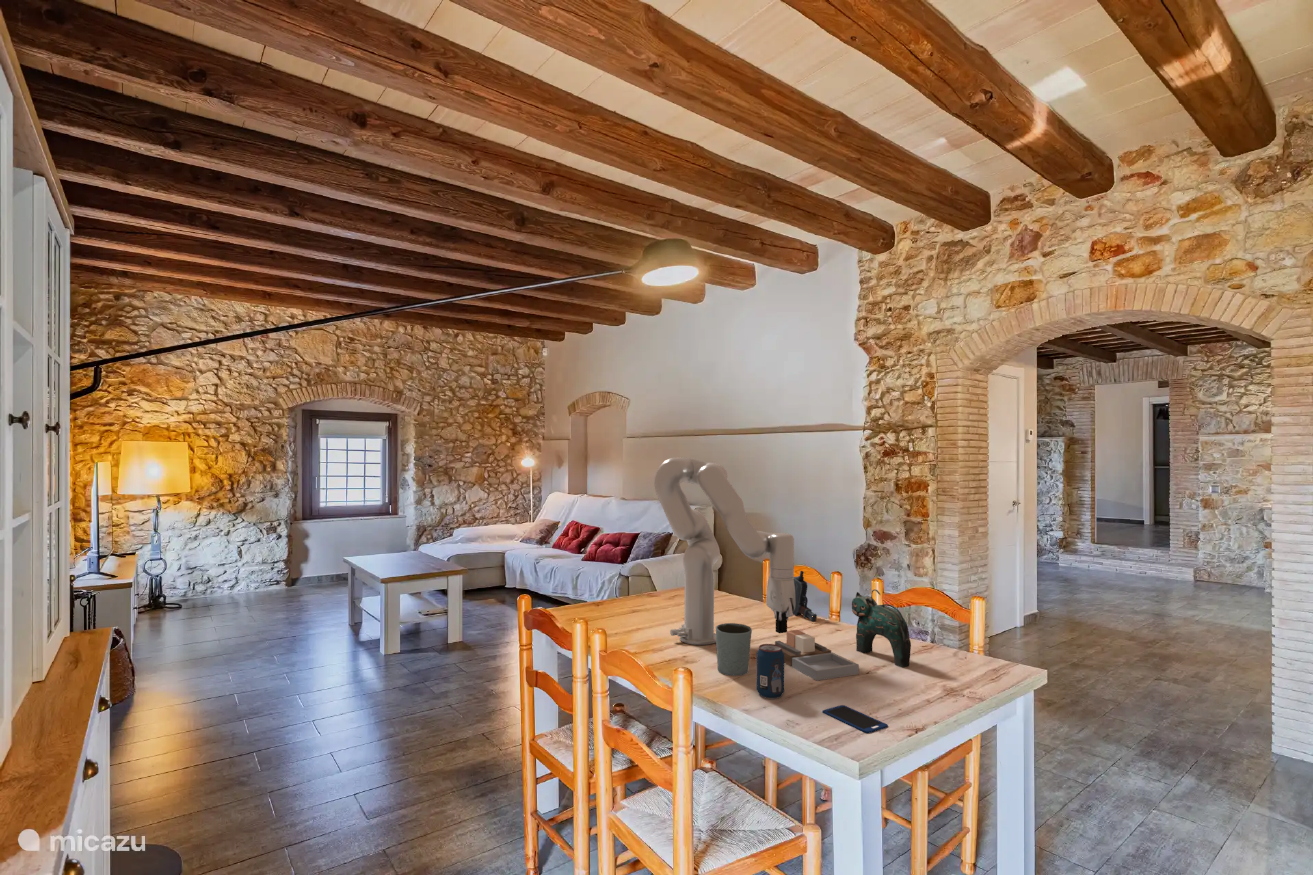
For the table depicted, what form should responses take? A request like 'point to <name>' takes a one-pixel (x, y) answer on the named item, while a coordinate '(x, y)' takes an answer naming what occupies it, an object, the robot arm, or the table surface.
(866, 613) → the ceramic cat
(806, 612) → the gun
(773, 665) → the soda can
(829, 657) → the tray
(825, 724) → the table surface
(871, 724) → the cell phone
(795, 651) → the slot board
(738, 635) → the green cup
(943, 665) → the table surface
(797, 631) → the terracotta block
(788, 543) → the robot arm
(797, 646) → the cream block
